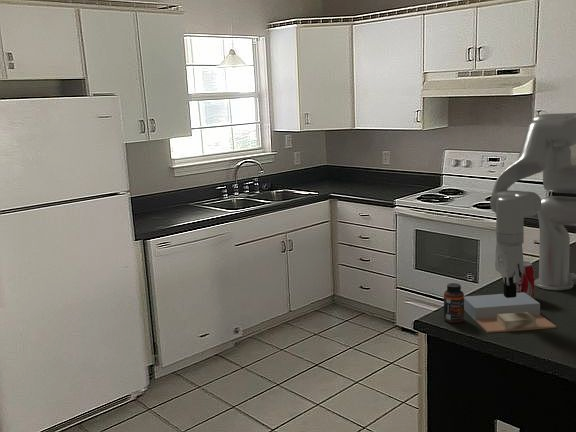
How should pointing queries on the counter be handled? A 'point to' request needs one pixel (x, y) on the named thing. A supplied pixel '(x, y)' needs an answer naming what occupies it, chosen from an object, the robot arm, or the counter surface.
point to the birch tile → (516, 320)
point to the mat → (493, 326)
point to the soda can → (526, 280)
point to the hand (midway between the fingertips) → (510, 296)
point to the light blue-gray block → (499, 305)
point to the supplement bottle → (453, 303)
